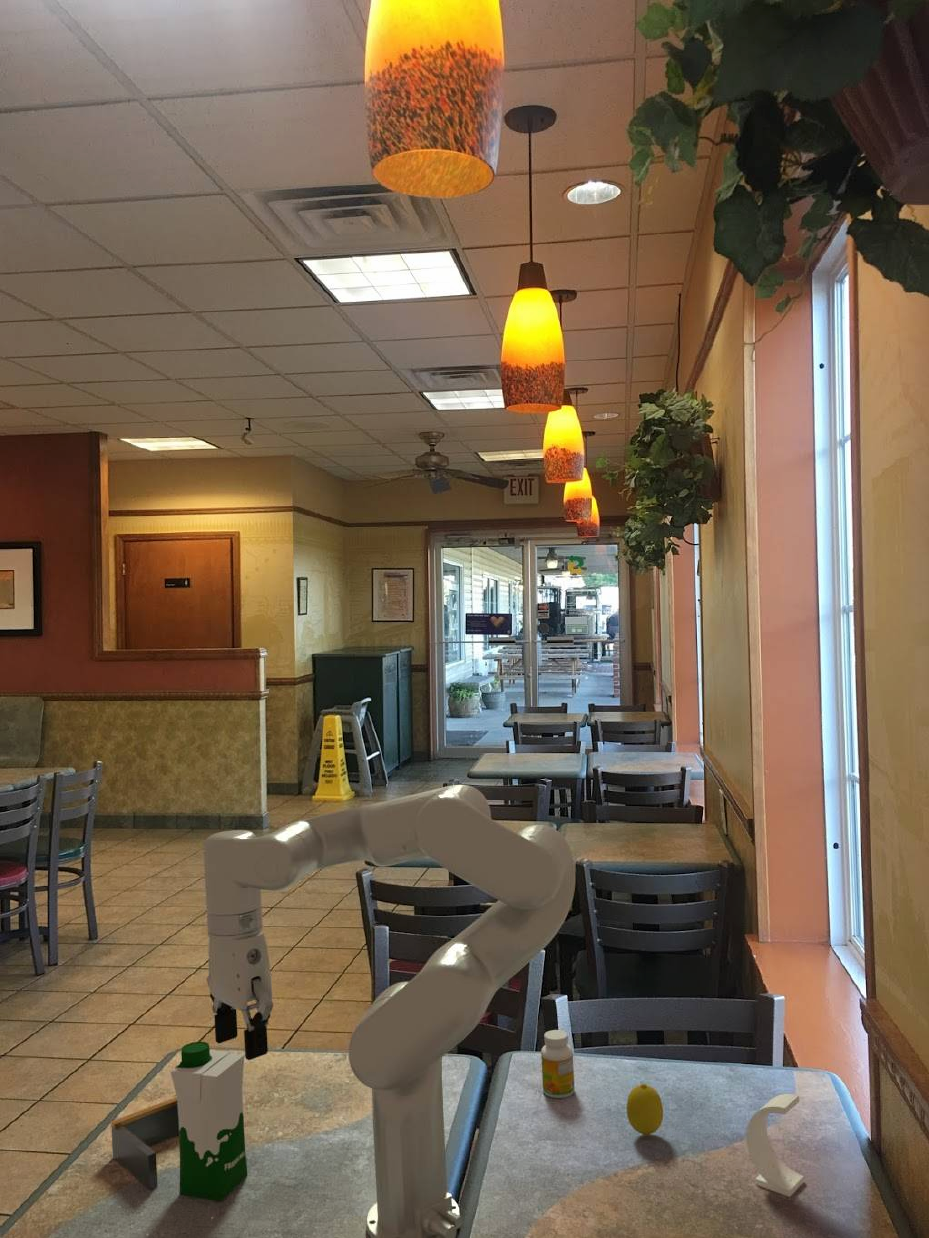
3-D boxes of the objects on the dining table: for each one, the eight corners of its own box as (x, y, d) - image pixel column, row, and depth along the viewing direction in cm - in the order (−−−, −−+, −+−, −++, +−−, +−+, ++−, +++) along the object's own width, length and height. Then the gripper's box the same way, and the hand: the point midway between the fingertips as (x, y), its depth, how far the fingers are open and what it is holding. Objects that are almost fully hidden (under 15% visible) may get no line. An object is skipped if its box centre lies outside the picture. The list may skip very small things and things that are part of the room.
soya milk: (205, 1165, 150) (198, 1033, 151) (257, 1173, 148) (250, 1038, 148) (170, 1197, 142) (163, 1058, 142) (224, 1206, 139) (217, 1063, 140)
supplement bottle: (537, 1089, 170) (534, 1032, 170) (564, 1081, 172) (561, 1025, 172) (553, 1101, 165) (550, 1043, 165) (580, 1094, 167) (577, 1036, 167)
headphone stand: (789, 1197, 134) (784, 1108, 135) (748, 1182, 139) (743, 1096, 139) (804, 1181, 138) (799, 1095, 138) (763, 1167, 142) (758, 1083, 142)
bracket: (237, 1151, 154) (236, 1115, 154) (149, 1190, 144) (147, 1151, 145) (197, 1123, 164) (196, 1089, 164) (112, 1157, 154) (111, 1121, 154)
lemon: (623, 1141, 151) (620, 1088, 151) (634, 1124, 156) (631, 1073, 156) (658, 1148, 149) (655, 1094, 149) (668, 1130, 154) (666, 1079, 154)
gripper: (291, 926, 134) (298, 1056, 134) (228, 904, 147) (234, 1023, 147) (242, 940, 129) (249, 1075, 129) (181, 916, 142) (187, 1039, 142)
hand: (241, 1047), depth 138 cm, fingers open, 7 cm apart
